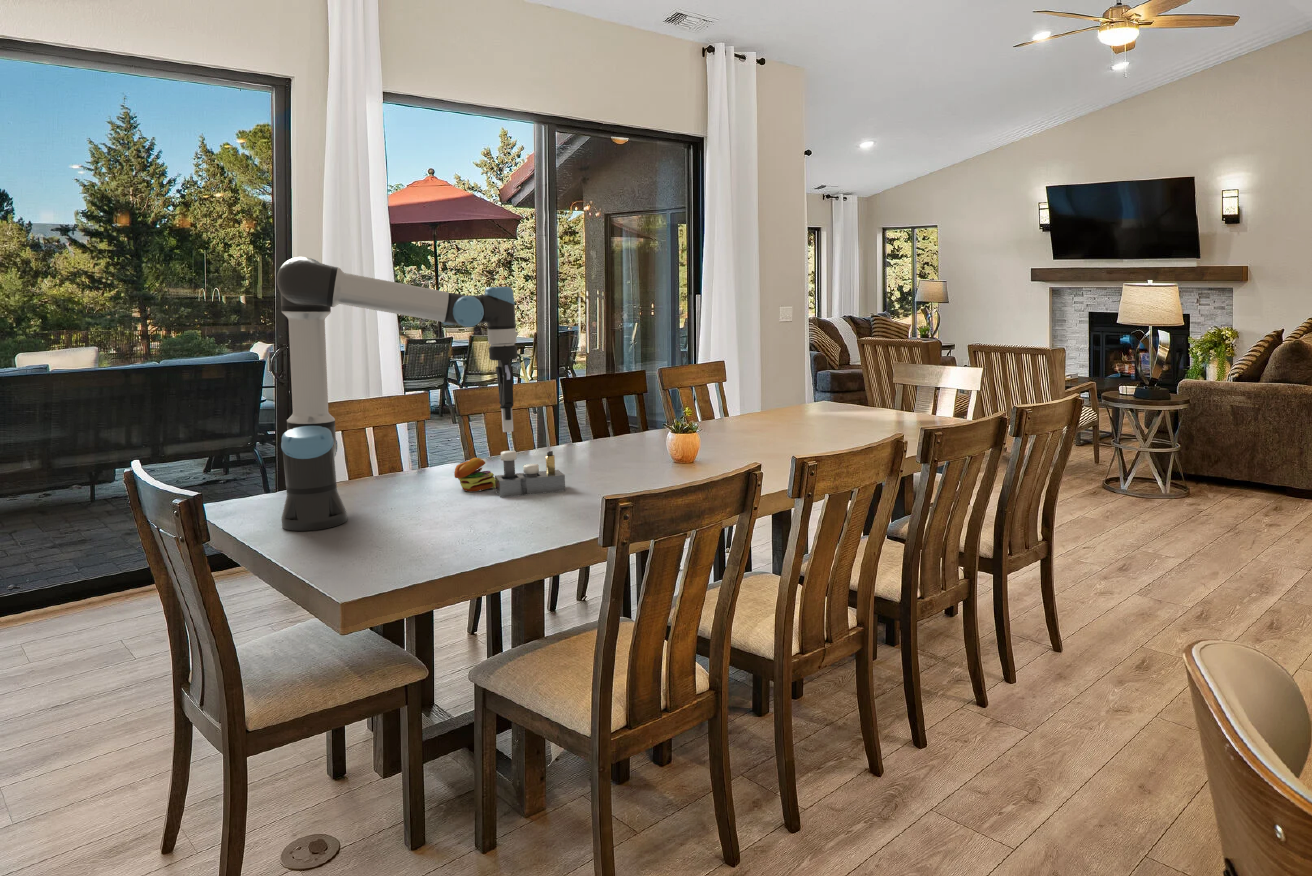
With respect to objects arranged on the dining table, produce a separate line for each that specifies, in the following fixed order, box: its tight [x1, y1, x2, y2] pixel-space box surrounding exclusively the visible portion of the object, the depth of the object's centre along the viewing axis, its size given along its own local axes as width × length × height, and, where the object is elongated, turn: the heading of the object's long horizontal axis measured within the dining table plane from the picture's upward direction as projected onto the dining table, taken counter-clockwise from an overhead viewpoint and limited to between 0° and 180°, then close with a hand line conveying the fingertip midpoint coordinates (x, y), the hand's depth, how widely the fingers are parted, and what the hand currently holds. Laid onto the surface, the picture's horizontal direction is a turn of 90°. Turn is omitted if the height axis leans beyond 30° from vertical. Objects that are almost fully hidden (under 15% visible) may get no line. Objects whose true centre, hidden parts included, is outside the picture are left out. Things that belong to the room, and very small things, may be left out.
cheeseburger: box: [453, 457, 496, 493], centre depth 260 cm, size 10×11×10 cm
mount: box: [494, 469, 566, 498], centre depth 255 cm, size 18×8×4 cm, turn 108°
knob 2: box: [522, 463, 540, 477], centre depth 255 cm, size 4×4×7 cm
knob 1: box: [500, 450, 517, 478], centre depth 252 cm, size 4×4×7 cm
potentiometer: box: [545, 450, 556, 474], centre depth 256 cm, size 2×2×6 cm
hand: (508, 431), depth 251 cm, fingers closed
